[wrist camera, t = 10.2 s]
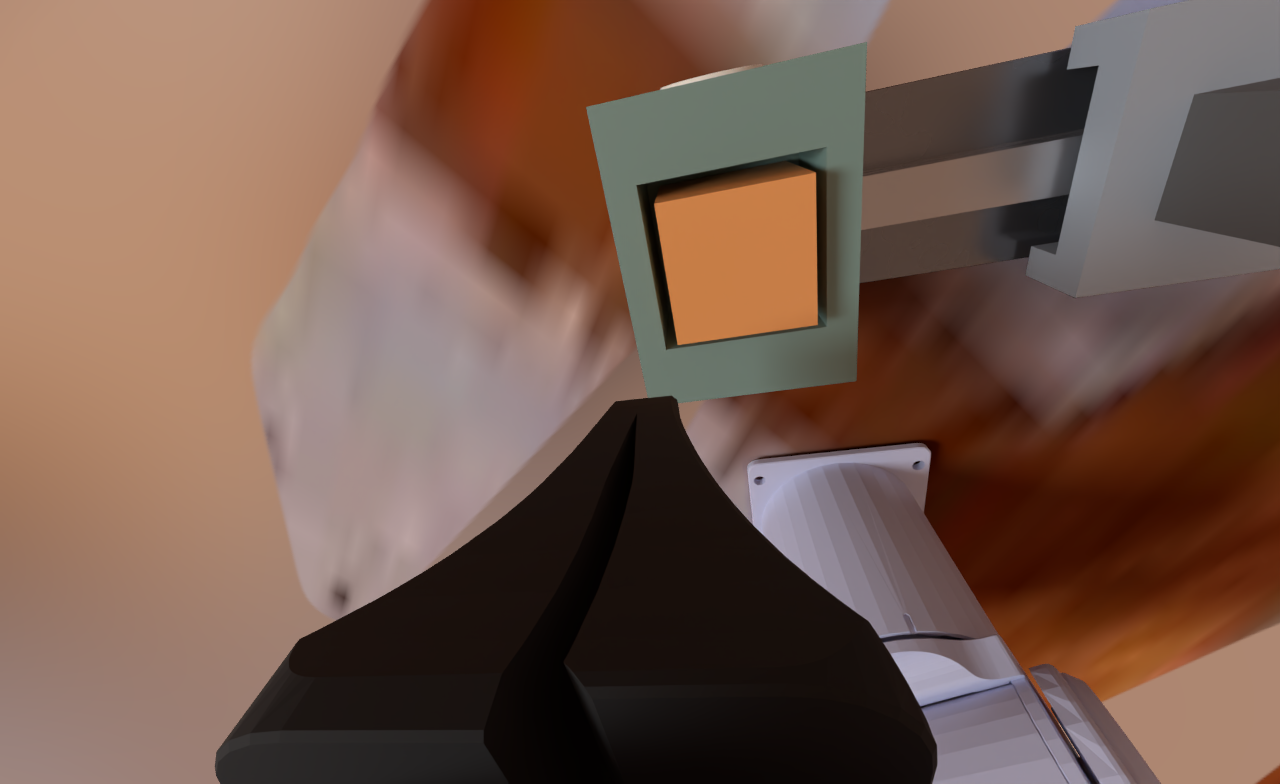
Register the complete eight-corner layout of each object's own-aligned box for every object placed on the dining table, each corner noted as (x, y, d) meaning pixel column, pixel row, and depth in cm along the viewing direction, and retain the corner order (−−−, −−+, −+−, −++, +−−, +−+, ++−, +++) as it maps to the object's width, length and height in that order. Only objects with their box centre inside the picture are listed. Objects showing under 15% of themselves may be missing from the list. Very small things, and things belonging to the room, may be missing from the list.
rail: (1623, 155, 14) (1751, 160, 13) (834, 279, 18) (850, 296, 16) (1818, -114, 12) (2017, -155, 10) (835, 98, 15) (855, 95, 14)
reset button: (790, 284, 15) (817, 324, 12) (678, 301, 16) (677, 345, 13) (785, 160, 13) (815, 172, 10) (660, 185, 14) (653, 204, 11)
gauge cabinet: (807, 308, 19) (856, 380, 14) (658, 331, 20) (649, 406, 15) (802, 61, 15) (867, 29, 10) (616, 104, 16) (584, 97, 11)
